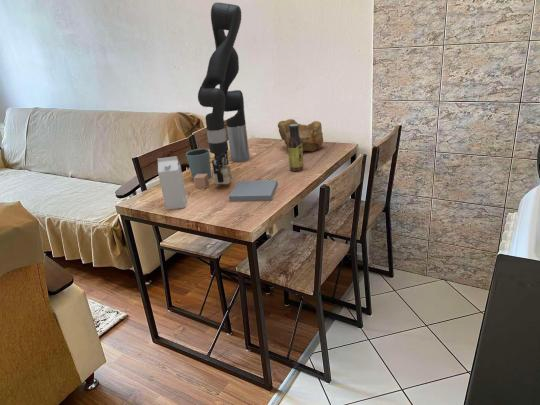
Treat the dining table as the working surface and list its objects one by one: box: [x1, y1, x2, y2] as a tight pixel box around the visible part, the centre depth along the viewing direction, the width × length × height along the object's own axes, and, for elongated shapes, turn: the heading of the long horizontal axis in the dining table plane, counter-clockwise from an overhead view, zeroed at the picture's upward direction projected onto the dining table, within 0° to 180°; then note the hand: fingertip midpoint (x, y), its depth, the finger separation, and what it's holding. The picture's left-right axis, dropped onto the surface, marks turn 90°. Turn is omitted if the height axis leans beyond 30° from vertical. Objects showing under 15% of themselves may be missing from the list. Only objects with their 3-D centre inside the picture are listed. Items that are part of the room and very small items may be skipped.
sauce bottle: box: [287, 123, 304, 172], centre depth 174 cm, size 6×6×20 cm
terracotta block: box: [193, 174, 210, 190], centre depth 168 cm, size 5×5×5 cm
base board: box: [228, 179, 279, 202], centre depth 157 cm, size 16×16×2 cm
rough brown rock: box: [277, 118, 324, 154], centre depth 201 cm, size 23×17×15 cm
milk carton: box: [157, 156, 188, 211], centre depth 149 cm, size 7×7×19 cm
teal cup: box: [185, 148, 213, 181], centre depth 177 cm, size 10×10×12 cm
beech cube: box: [211, 164, 233, 185], centre depth 165 cm, size 6×6×6 cm
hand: (223, 179), depth 166 cm, fingers closed on beech cube, 6 cm apart
